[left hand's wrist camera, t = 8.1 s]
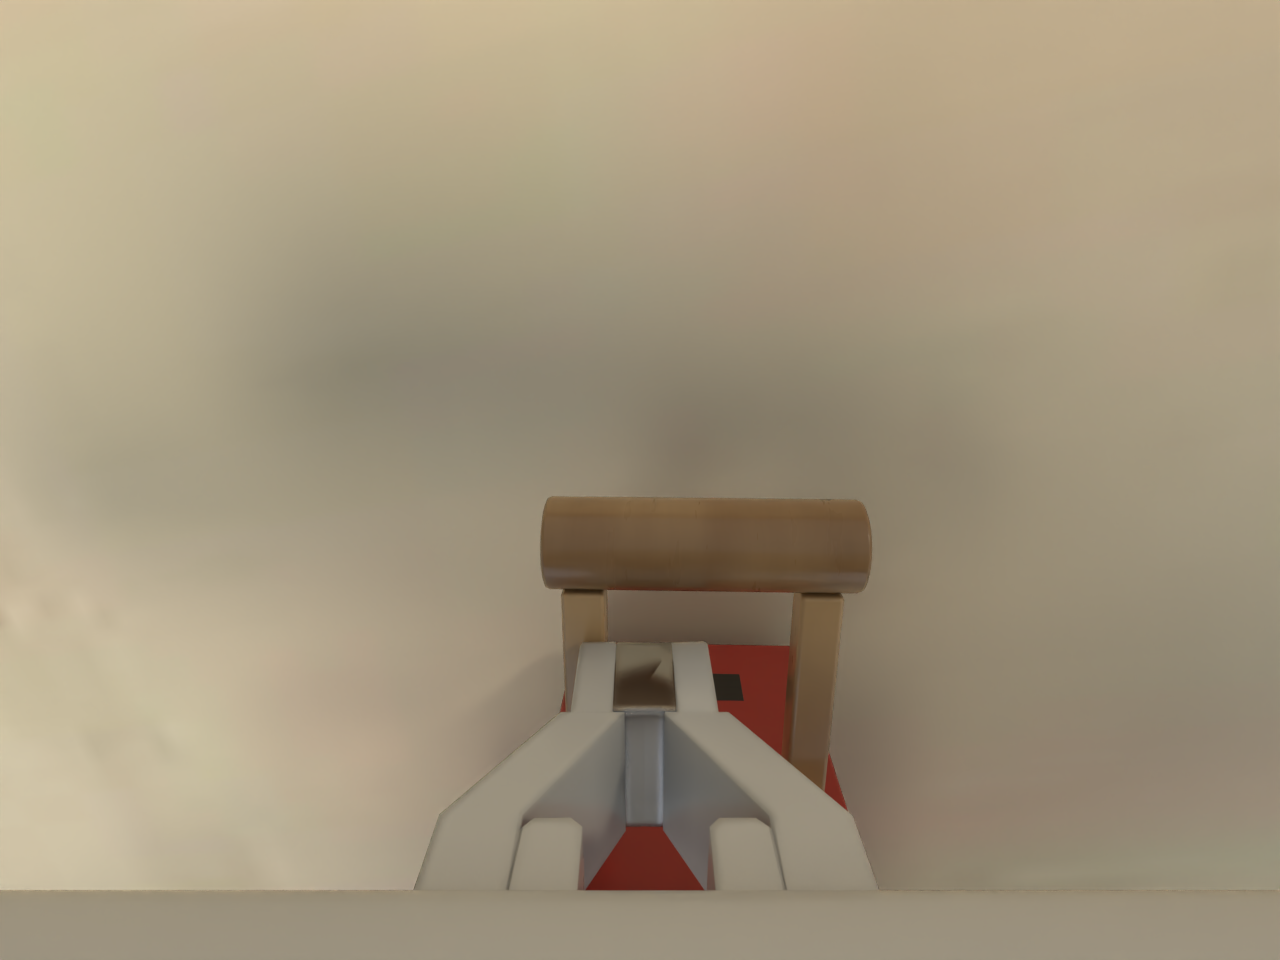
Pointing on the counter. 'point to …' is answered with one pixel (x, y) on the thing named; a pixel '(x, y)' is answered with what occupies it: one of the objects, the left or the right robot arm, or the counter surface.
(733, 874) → the left robot arm
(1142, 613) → the counter surface
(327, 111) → the counter surface
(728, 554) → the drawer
